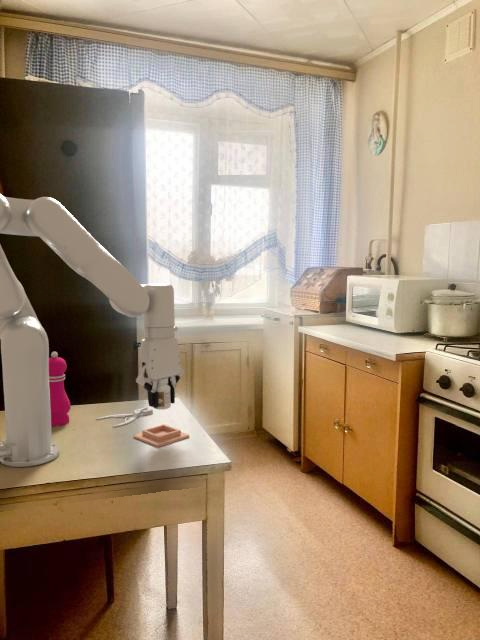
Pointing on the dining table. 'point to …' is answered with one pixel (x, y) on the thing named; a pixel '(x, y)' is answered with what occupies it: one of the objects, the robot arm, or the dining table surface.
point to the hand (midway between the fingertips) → (161, 403)
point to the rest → (161, 435)
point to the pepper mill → (58, 391)
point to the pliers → (133, 416)
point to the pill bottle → (163, 394)
